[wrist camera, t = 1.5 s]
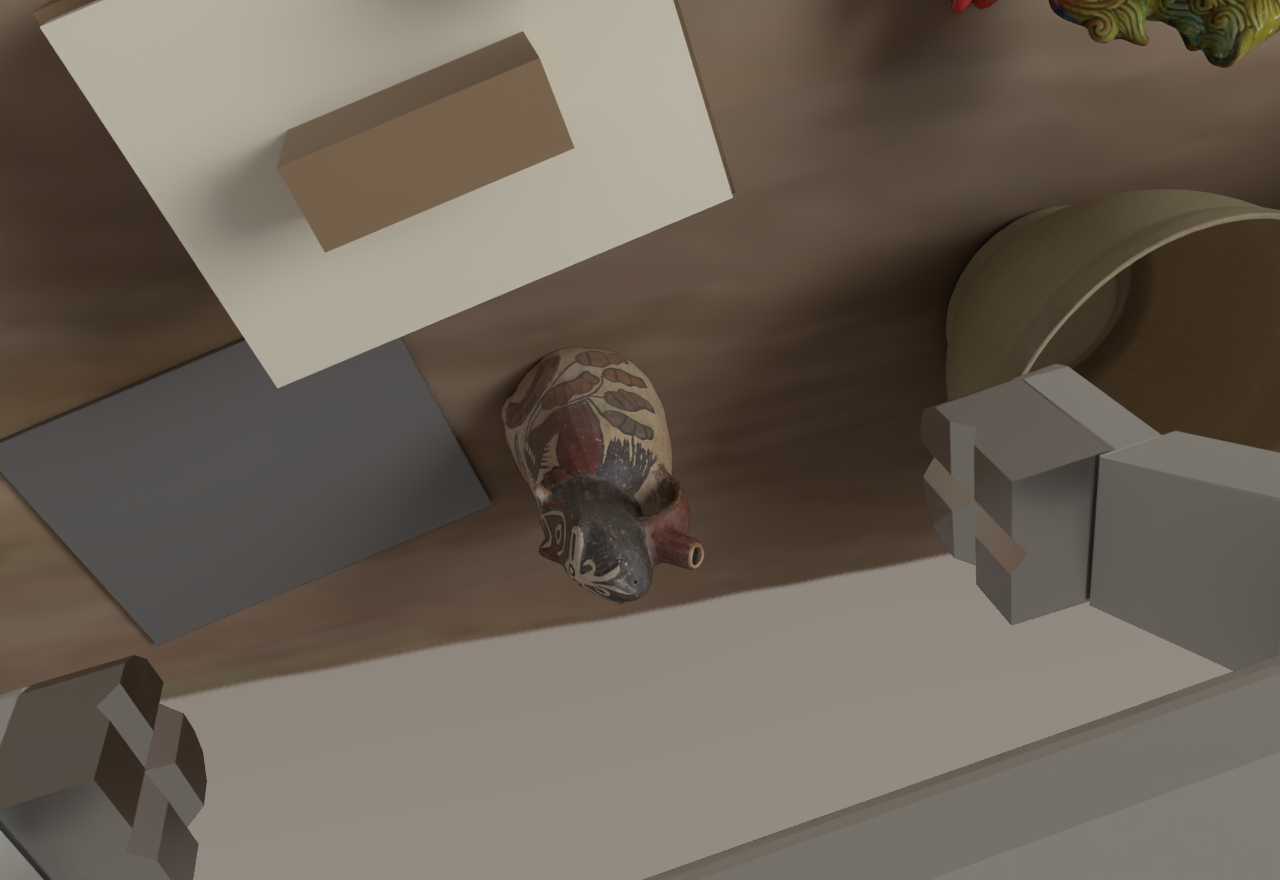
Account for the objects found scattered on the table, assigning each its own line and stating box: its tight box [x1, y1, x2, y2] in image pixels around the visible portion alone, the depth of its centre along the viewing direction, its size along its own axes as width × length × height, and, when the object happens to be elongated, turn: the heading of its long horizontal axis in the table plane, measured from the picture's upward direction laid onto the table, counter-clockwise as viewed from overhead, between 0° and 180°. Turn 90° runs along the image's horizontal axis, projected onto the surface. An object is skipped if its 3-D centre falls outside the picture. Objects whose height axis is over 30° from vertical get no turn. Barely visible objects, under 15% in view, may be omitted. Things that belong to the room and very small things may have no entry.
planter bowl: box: [946, 189, 1280, 453], centre depth 44 cm, size 16×16×11 cm
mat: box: [0, 337, 492, 645], centre depth 44 cm, size 17×12×1 cm
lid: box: [40, 0, 733, 388], centre depth 28 cm, size 15×11×4 cm
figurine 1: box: [501, 347, 704, 604], centre depth 41 cm, size 7×7×12 cm
